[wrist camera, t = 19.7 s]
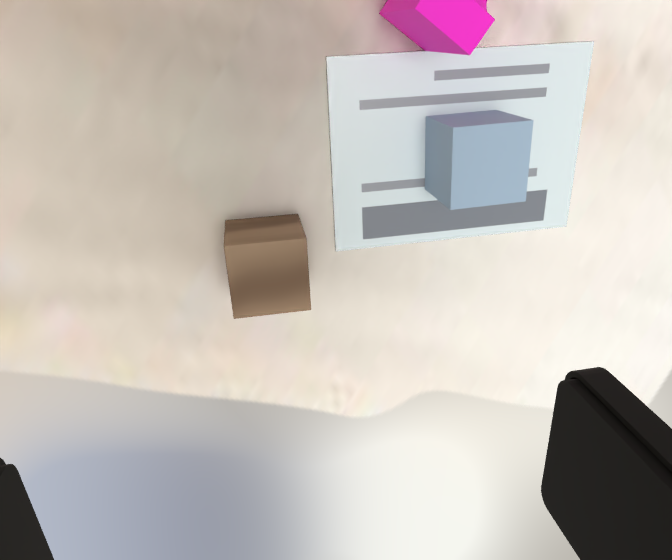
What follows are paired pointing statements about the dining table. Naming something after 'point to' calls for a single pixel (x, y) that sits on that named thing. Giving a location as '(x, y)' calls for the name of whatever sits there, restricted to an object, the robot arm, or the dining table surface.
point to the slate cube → (477, 158)
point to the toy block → (440, 23)
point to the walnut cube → (267, 265)
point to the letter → (438, 99)
